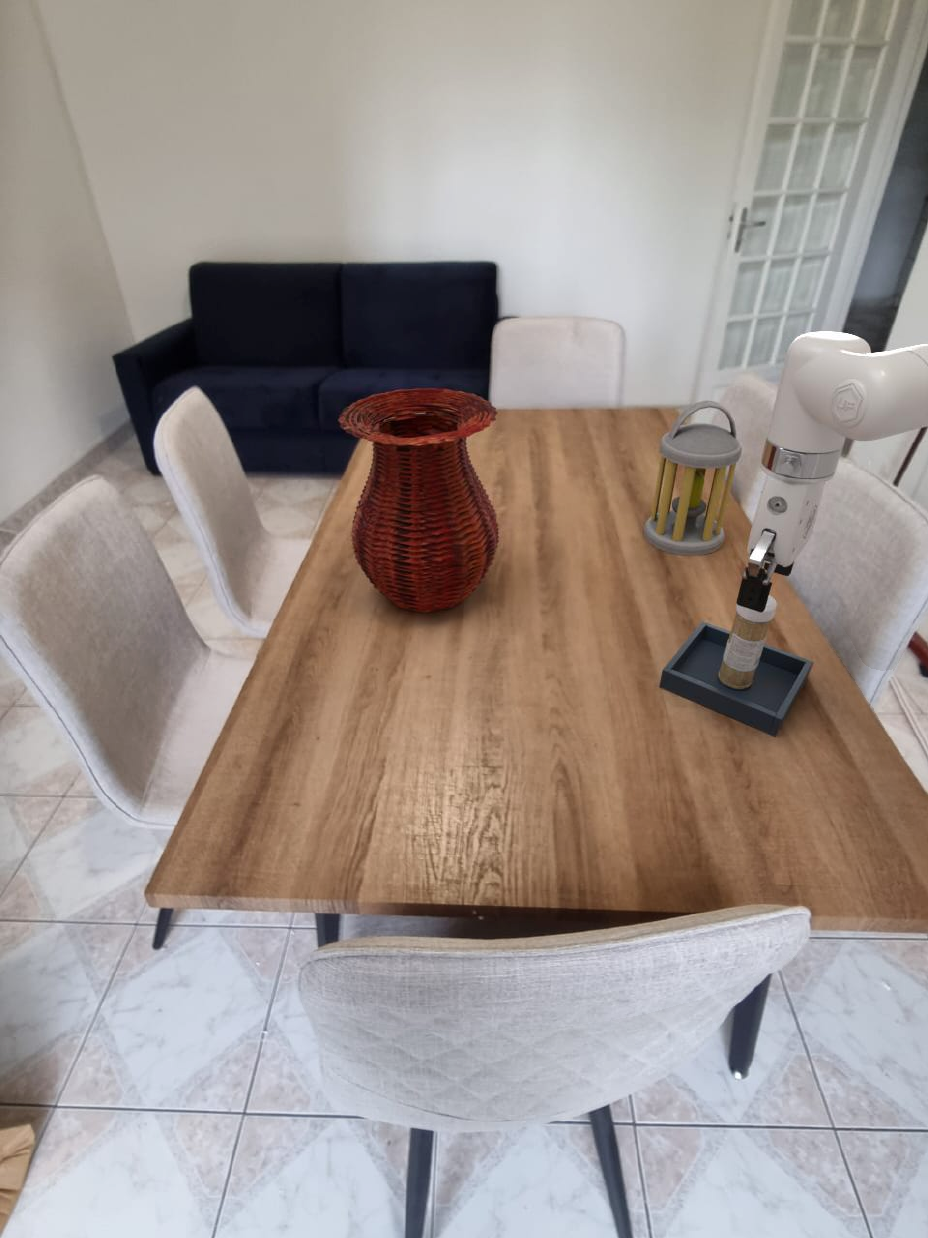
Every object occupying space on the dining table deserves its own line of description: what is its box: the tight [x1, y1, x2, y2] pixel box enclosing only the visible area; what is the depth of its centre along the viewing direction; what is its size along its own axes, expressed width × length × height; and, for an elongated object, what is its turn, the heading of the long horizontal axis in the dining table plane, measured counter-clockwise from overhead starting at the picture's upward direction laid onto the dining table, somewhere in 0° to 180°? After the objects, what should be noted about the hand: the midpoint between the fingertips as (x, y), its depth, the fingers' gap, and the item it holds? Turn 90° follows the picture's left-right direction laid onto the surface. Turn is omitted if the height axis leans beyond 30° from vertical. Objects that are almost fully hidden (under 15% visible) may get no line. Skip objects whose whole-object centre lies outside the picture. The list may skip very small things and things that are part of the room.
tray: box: [659, 620, 814, 737], centre depth 92 cm, size 16×14×3 cm
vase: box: [337, 387, 500, 613], centre depth 104 cm, size 23×24×30 cm
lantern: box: [643, 399, 743, 557], centre depth 117 cm, size 14×14×25 cm
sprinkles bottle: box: [718, 594, 778, 689], centre depth 88 cm, size 5×5×13 cm
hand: (763, 589), depth 83 cm, fingers open, 9 cm apart
